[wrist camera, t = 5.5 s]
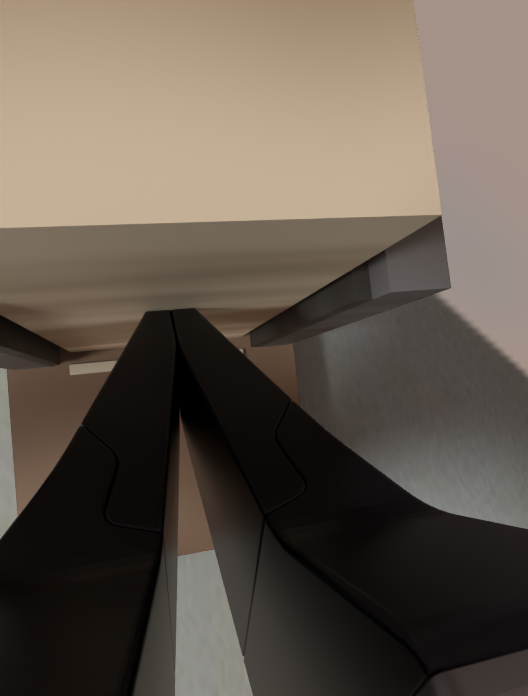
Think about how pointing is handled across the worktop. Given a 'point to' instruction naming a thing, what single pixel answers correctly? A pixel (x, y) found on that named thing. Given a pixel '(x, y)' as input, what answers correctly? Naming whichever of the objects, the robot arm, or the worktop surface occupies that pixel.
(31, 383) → the wooden phone stand
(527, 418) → the worktop surface
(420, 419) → the worktop surface
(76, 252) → the curved wooden panel
